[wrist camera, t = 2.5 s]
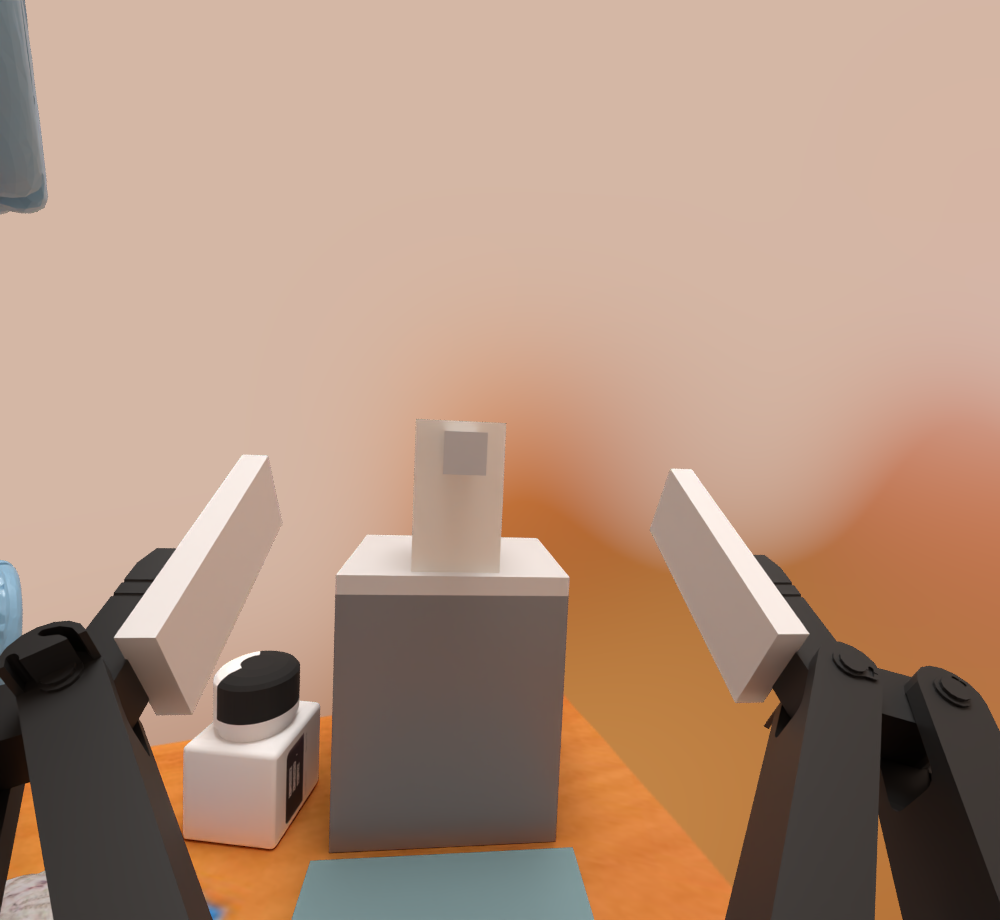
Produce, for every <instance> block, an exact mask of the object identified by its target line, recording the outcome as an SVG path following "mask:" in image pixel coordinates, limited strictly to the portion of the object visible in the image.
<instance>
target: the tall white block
mask: <svg viewBox="0 0 1000 920" xmlns="http://www.w3.org/2000/svg"><path fill="white" fill-rule="evenodd" d="M505 436H506V423H490V422H467V421H447V420H425V419H416V439H415V440H416V441H415V468H414V499H413V528H412V557H411V572H456V573H499V571H500V548H501V526H502V524H501V523H502V503H503V480H504V458H505Z"/></svg>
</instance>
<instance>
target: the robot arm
mask: <svg viewBox="0 0 1000 920" xmlns="http://www.w3.org/2000/svg"><path fill="white" fill-rule="evenodd" d="M47 198H48V194H47V185H46V173H45V163H44V154H43V146H42V136H41V128H40V120H39V113H38V105H37V100H36V91H35V83H34V73H33V63H32V56H31V49H30V42H29V35H28V24H27V14H26V8H25V0H0V214H4V213H7V212H9V211H12V212H18V213H34V212H38V211H39V210H41V209H43V208H44V207H45V205H46V202H47ZM281 525H282V519H281V514H280V509H279V505H278V500H277V495H276V491H275V486H274V481H273V476H272V471H271V467H270V462H269V457H268V456H267V455H242V456H241V457H240V459H239V460H238V462H237V463H236V465H235V466H234V468H233V469H232V470H231V472H230V473H229V475H228V476H227V477H226V479H225V480H224V482H223V483H222V485H221V486H220V487H219V489H218V490H217V492H216V493H215V494H214V496H213V497H212V499H211V500H210V501H209V503H208V505H207V506H206V507H205V509H204V510H203V511H202V513H201V514H200V516H199V517H198V519H197V520H196V521H195V523H194V524H193V526H192V527H191V529H190V530H189V531H188V533H187V534H186V536H185V537H184V538H183V540H182V541H181V543H180V544H179V546H178V547H177V548H176V549H175V548H173V549H172V548H157V549H155V550H154V551H152V552H151V553H150V554H148V555H147V556H146V557H144V558H143V559H141V560H140V561H139V562H137V564H136V565H135V566H134V567H133V569H132V570H131V571H130V573H129V574H128V575H127V576H126V578H125V579H124V583H121V584H120V585H119V587H118V588H117V590H116V591H115V592H114V596H111V597H110V599H109V600H108V601H107V602H106V604H105V605H104V606H103V608H102V609H101V610H100V611H99V613H98V614H97V615H96V616H95V618H94V619H93V620H92V622H91V623H90V624H89V626H88V627H87V628H86V629H85V628H84V627H83V626H82V625H81V624H80V623H75V622H72V621H62V622H53V623H50V624H47V625H44V626H40V627H37V628H35V629H33V630H31V631H30V632H28V633H26V634H24V635H22V594H21V585H20V579H19V575H18V573H17V571H16V569H15V568H14V567H13V565H12V564H10V563H9V562H7V561H3V560H0V911H1V906H2V901H3V896H4V891H5V885H6V880H7V875H8V870H9V864H10V859H11V854H12V849H13V844H14V838H15V833H16V828H17V823H18V817H19V812H20V807H21V802H22V797H23V791H24V786H25V783H28V782H30V784H31V790H32V796H33V802H34V808H35V814H36V820H37V826H38V831H39V837H40V843H41V849H42V855H43V861H44V867H45V873H46V879H47V885H48V891H49V897H50V903H51V909H52V914H53V920H213V919H212V917H211V914H210V911H209V908H208V906H207V903H206V900H205V897H204V894H203V892H202V889H201V886H200V883H199V881H198V878H197V875H196V872H195V870H194V867H193V864H192V861H191V858H190V856H189V853H188V850H187V847H186V845H185V842H184V839H183V836H182V833H181V831H180V828H179V825H178V822H177V820H176V817H175V814H174V811H173V808H172V806H171V803H170V800H169V797H168V795H167V792H166V789H165V786H164V784H163V781H162V778H161V775H160V772H159V770H158V767H157V764H156V761H155V759H154V756H153V753H152V750H151V747H150V745H149V742H148V739H147V737H146V734H145V731H144V728H143V725H142V723H141V722H140V720H139V717H140V716H141V714H142V712H143V710H144V708H145V707H146V705H147V703H148V701H149V703H150V704H151V706H152V708H153V710H154V712H155V714H156V715H192V714H193V712H194V710H195V708H196V706H197V704H198V701H199V699H200V697H201V695H202V693H203V691H204V689H205V687H206V685H207V682H208V680H209V678H210V676H211V674H212V672H213V669H214V668H215V665H216V663H217V661H218V659H219V657H220V655H221V653H222V650H223V648H224V646H225V644H226V642H227V640H228V637H229V636H230V633H231V631H232V629H233V627H234V625H235V623H236V621H237V619H238V616H239V614H240V612H241V610H242V608H243V606H244V604H245V602H246V599H247V597H248V595H249V593H250V591H251V589H252V586H253V584H254V582H255V580H256V578H257V576H258V574H259V572H260V569H261V567H262V565H263V563H264V561H265V559H266V557H267V555H268V553H269V551H270V548H271V546H272V544H273V542H274V540H275V538H276V536H277V533H278V531H279V529H280V527H281ZM650 532H651V533H652V536H653V538H654V540H655V542H656V544H657V546H658V548H659V550H660V552H661V554H662V556H663V558H664V560H665V561H666V564H667V566H668V568H669V570H670V572H671V574H672V576H673V578H674V580H675V582H676V584H677V586H678V588H679V590H680V592H681V594H682V596H683V598H684V600H685V602H686V604H687V606H688V608H689V610H690V612H691V614H692V616H693V618H694V620H695V622H696V624H697V626H698V629H699V631H700V633H701V635H702V637H703V639H704V641H705V643H706V645H707V647H708V649H709V651H710V653H711V655H712V657H713V659H714V661H715V663H716V665H717V667H718V669H719V671H720V673H721V675H722V677H723V679H724V681H725V683H726V685H727V687H728V689H729V691H730V693H731V695H732V697H733V699H734V701H735V703H751V702H753V703H754V702H764V700H765V699H766V697H767V696H768V694H769V693H770V692H771V690H772V689H773V690H774V691H775V693H776V695H777V696H778V698H779V700H780V704H779V705H778V706H777V708H776V709H775V711H774V712H773V713H772V715H771V716H770V718H769V719H768V721H767V722H766V724H765V725H764V727H766V728H768V729H769V727H770V726H771V725H772V727H771V731H770V735H769V739H768V744H767V747H766V752H765V756H764V760H763V764H762V768H761V772H760V777H759V781H758V785H757V790H756V794H755V797H754V802H753V806H752V810H751V814H750V818H749V822H748V827H747V831H746V835H745V839H744V843H743V847H742V851H741V856H740V860H739V864H738V868H737V872H736V877H735V880H734V885H733V889H732V893H731V897H730V901H729V905H728V910H727V914H726V918H725V920H875V892H876V864H877V835H878V815H879V819H880V823H881V828H882V832H883V836H884V841H885V844H886V849H887V854H888V858H889V862H890V866H891V871H892V875H893V880H894V884H895V888H896V892H897V897H898V901H899V906H900V910H901V914H902V918H903V920H1000V731H999V729H998V727H997V725H996V723H995V721H994V718H993V717H992V714H991V712H990V710H989V708H988V706H987V704H986V703H985V701H984V700H983V698H982V697H981V695H980V694H979V693H978V692H977V691H976V690H975V689H974V688H973V687H972V686H971V685H970V684H968V683H967V682H965V681H964V680H963V679H961V678H960V677H958V676H956V675H955V674H953V673H951V672H948V671H946V670H944V669H942V668H938V667H932V666H926V667H921V668H920V669H919V670H918V671H917V672H916V673H915V674H914V675H913V676H912V677H909V676H905V675H902V674H897V673H894V672H890V671H887V670H883V669H879V668H877V666H876V665H875V663H874V662H873V661H872V660H870V659H869V658H868V657H867V656H866V655H865V654H864V653H862V652H861V651H859V650H857V649H856V648H854V647H852V646H850V645H847V644H845V643H842V642H837V641H836V640H835V639H834V637H833V636H832V635H831V633H830V632H829V631H828V629H827V628H826V627H825V626H824V624H823V623H822V622H821V620H820V619H819V618H818V616H817V615H816V614H815V612H814V611H813V610H812V608H811V607H810V606H809V604H808V603H807V602H806V601H805V599H804V598H803V597H801V594H800V593H799V591H798V590H797V589H796V587H795V586H793V585H792V582H791V581H790V580H789V578H788V577H787V576H786V574H785V573H784V572H783V570H782V569H781V568H780V567H779V566H778V565H776V564H775V563H774V562H772V561H771V560H770V559H769V558H768V557H766V556H765V555H753V554H752V553H751V551H750V550H749V549H748V547H747V546H746V545H745V543H744V542H743V540H742V539H741V538H740V536H739V535H738V533H737V532H736V531H735V529H734V528H733V527H732V525H731V524H730V522H729V521H728V519H727V518H726V517H725V516H724V514H723V512H722V511H721V510H720V508H719V507H718V506H717V504H716V503H715V501H714V500H713V498H712V497H711V496H710V494H709V493H708V492H707V490H706V489H705V487H704V486H703V485H702V483H701V482H700V480H699V479H698V478H697V476H696V475H695V473H694V472H693V471H692V470H691V469H670V471H669V474H668V477H667V480H666V483H665V486H664V489H663V492H662V495H661V498H660V501H659V504H658V507H657V510H656V513H655V516H654V519H653V522H652V525H651V528H650Z"/></svg>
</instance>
